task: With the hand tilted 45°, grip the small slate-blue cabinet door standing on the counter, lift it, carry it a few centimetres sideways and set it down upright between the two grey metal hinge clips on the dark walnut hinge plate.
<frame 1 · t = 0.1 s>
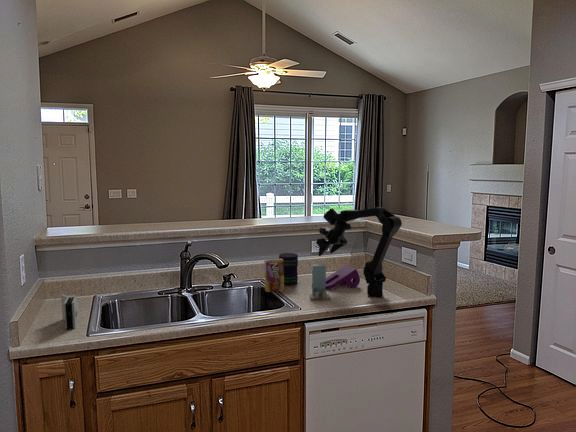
hand: (324, 254, 227), 15 cm above the counter, tool tilted 35°, fingers open, 9 cm apart
mounting bracket: (339, 287, 221), on the counter
door: (318, 294, 209), on the counter
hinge: (69, 324, 170), on the counter
hinge plate: (320, 298, 202), on the counter
candy box: (274, 290, 214), on the counter
storage jar: (288, 283, 227), on the counter
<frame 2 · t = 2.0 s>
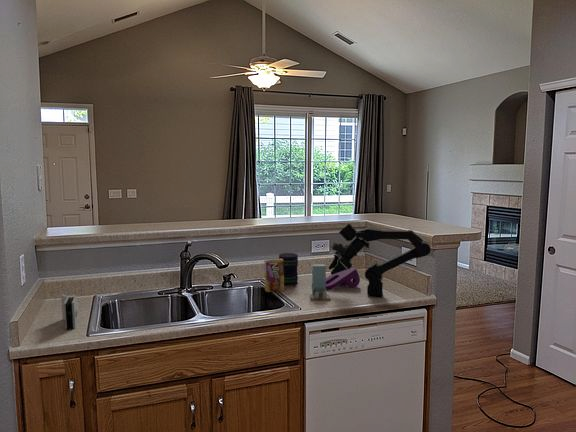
hand: (330, 271, 208), 11 cm above the counter, tool tilted 45°, fingers open, 9 cm apart
nothing on the counter moved.
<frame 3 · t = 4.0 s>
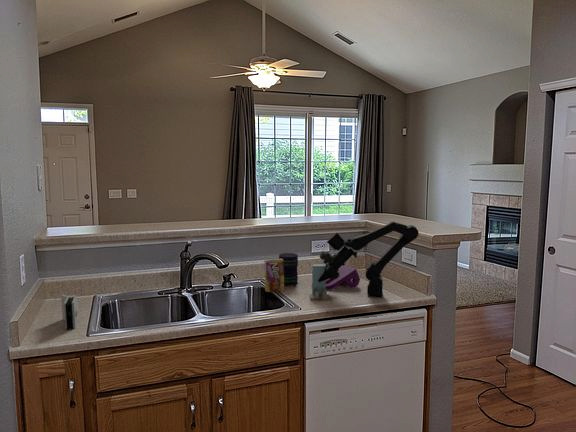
hand: (318, 280, 208), 7 cm above the counter, tool tilted 45°, fingers closed on door, 3 cm apart
door: (318, 294, 209), on the counter, touching gripper
everything else where it was.
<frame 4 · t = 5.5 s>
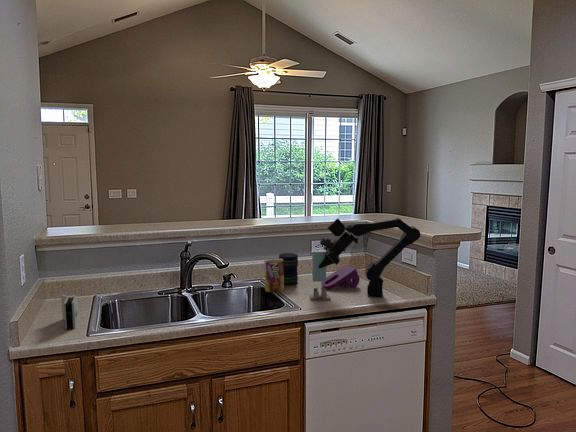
hand: (318, 266, 206), 13 cm above the counter, tool tilted 45°, fingers closed on door, 3 cm apart
door: (319, 280, 207), point 7 cm above the counter, touching gripper
everything else where it was.
when the fingers open (9 cm above the counter, at t = 7.2 s): door drops 1 cm, resting on hinge plate.
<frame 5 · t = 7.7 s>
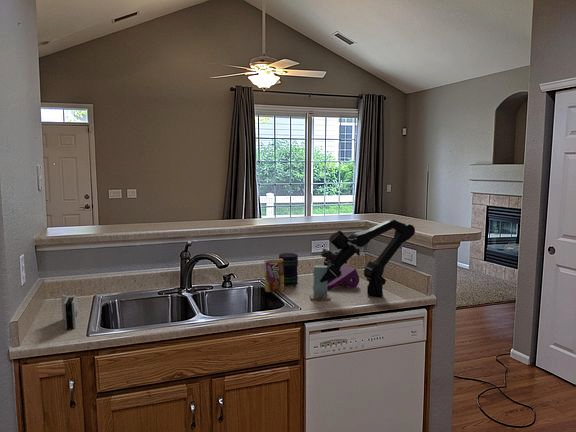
hand: (319, 279, 201), 9 cm above the counter, tool tilted 45°, fingers open, 8 cm apart
door: (320, 296, 202), point 1 cm above the counter, touching hinge plate
everything else where it was.
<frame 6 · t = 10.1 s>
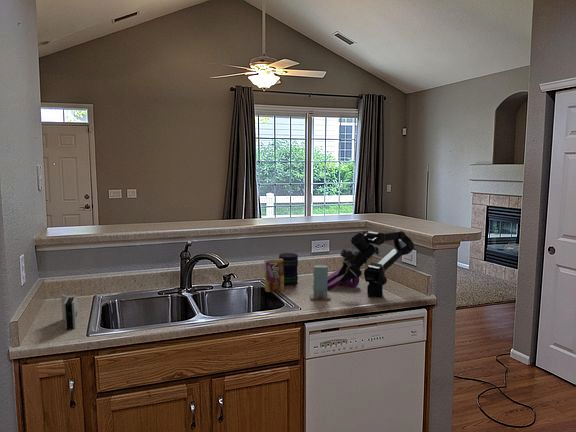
hand: (338, 278, 201), 9 cm above the counter, tool tilted 45°, fingers open, 9 cm apart
nothing on the counter moved.
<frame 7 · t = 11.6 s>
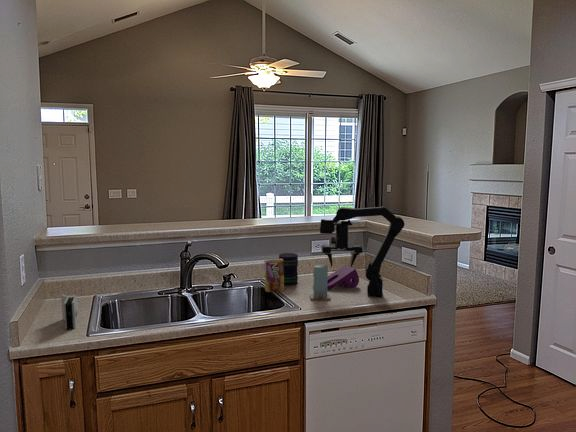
hand: (341, 267, 208), 13 cm above the counter, tool pointing down, fingers open, 9 cm apart
nothing on the counter moved.
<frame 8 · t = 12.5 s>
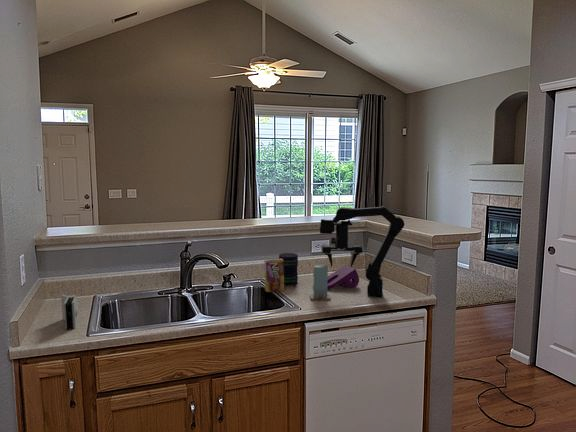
hand: (341, 267, 208), 13 cm above the counter, tool pointing down, fingers open, 9 cm apart
nothing on the counter moved.
at the end: door 0.1 cm off-centre on the hinge plate, point 1.0 cm above the hinge plate's base; door tilted 0°; the gripper is holding nothing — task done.
